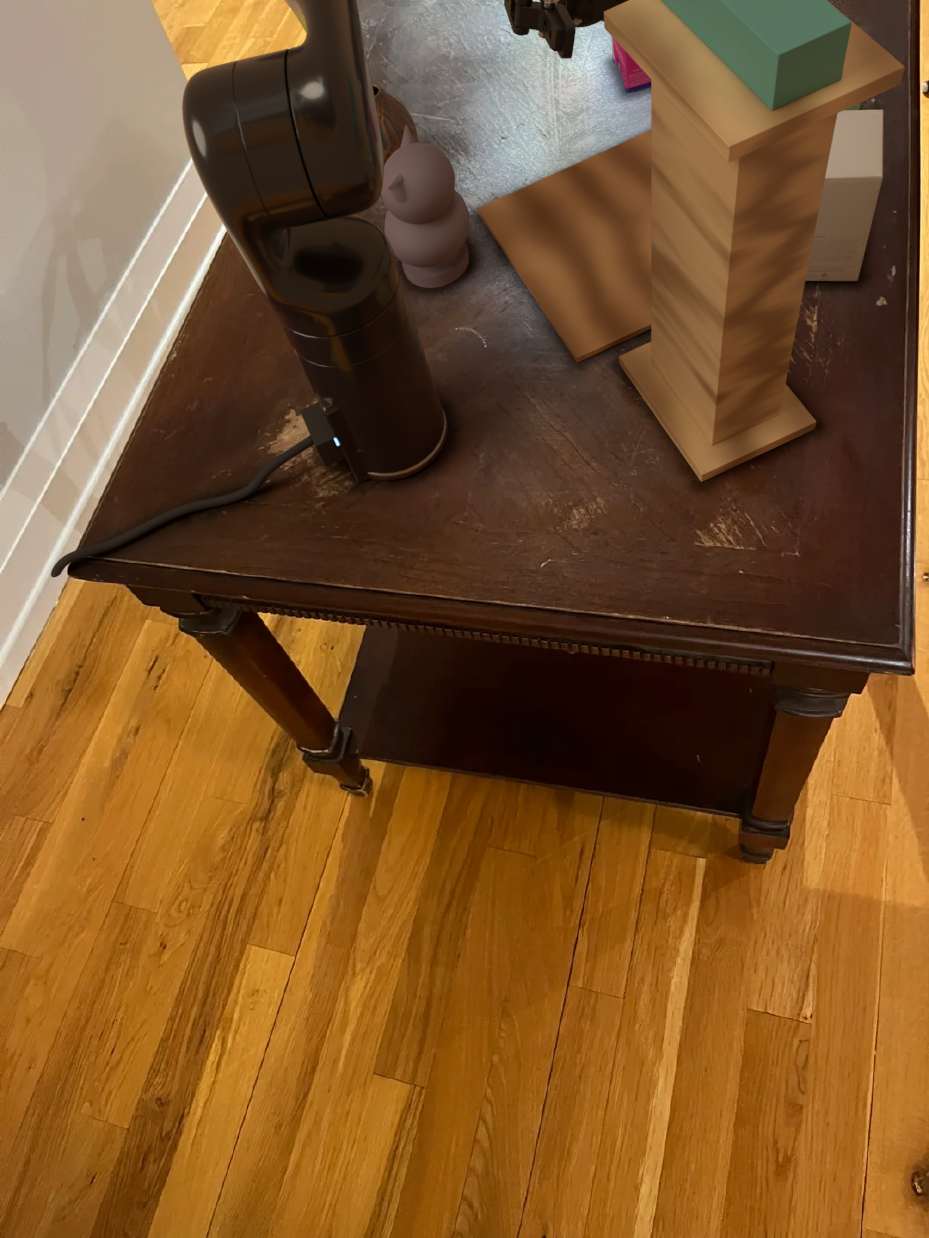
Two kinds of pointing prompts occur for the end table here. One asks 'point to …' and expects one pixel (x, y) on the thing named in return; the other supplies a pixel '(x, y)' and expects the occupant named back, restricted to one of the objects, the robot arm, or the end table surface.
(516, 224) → the flat wooden board
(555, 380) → the end table surface
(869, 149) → the small box
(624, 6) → the wooden pedestal column
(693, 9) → the long green rectangular block
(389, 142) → the vase
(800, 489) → the end table surface
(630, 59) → the supplement box
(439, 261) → the cat figurine
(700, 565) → the end table surface
